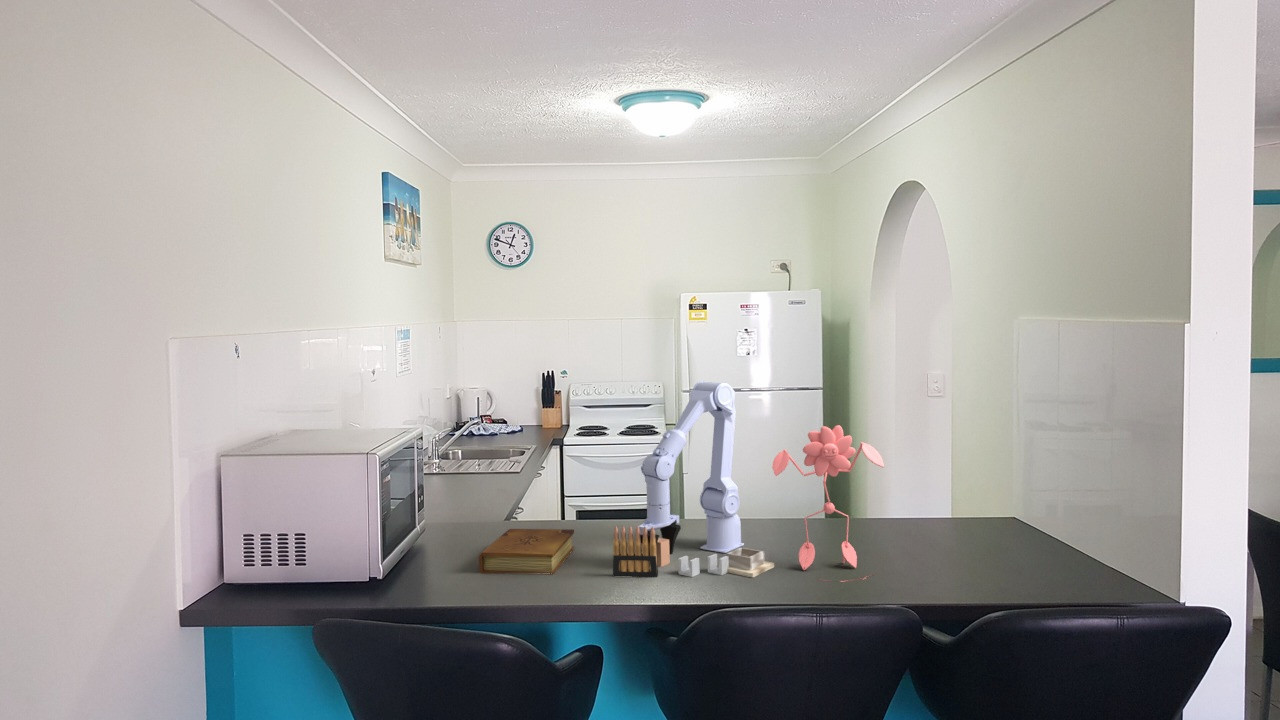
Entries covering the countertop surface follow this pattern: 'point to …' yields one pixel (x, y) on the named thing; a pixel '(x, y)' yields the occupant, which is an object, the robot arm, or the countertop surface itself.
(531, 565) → the diary
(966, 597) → the countertop surface
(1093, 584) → the countertop surface
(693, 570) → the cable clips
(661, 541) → the orange rectangular block
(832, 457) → the figurine
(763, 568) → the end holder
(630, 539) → the ammunition clip
